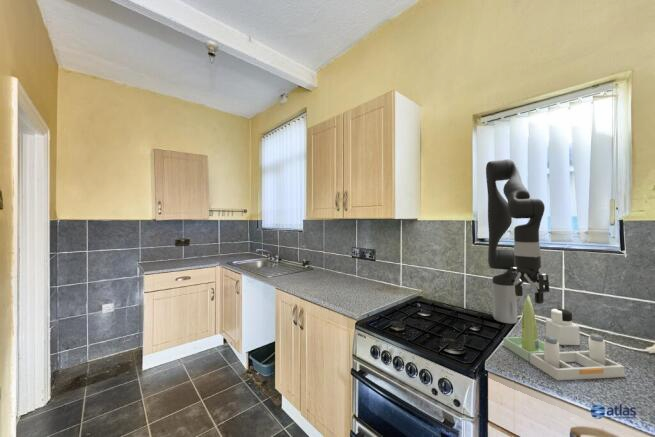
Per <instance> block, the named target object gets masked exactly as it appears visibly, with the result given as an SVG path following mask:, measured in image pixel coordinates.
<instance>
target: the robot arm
mask: <svg viewBox="0 0 655 437" xmlns="http://www.w3.org/2000/svg"><path fill="white" fill-rule="evenodd" d="M485 166H486V167H485V177H486V186H487V223H488V224H487V225H488V251H487V252H488V253H487V257H488V258H487V259H488V266H489V268H490V269H493V270H494V269H495V270H506V271H505V272H504V273H500V274H498V275H494V276H493V277H492V297H491V303H492V304H491V307H492V309H491V311H492V318H493V319H494V320H496V321H497V322H501V323H505V324H510V325H511V324H517V323H518V298H517V297H522V296H523V295H524V294H523V292H524V291H523V284H524V283H527V284H529V286H530V287H532V288H533V290H534V303H535V304H538V305H539V304H541V305H542V304H543V303H544V301H545V299H544V293H550V282H549V275H548V273H540V269H541V268H542V259H541V258H542V256H541V245H540V226H541V222H542V219H543V216H544V213H545V203H544V202H543V200H541V199H540V198H531V195H530V192H529V191H528V189H527V188H526V187H525V185H524V184H523V181H522V178H521V175H520V172H519V169H518V167H517V163H516V162H515V161H514V160H513V159H509V158H508V159H499V160H492V161H488V162H487V163H486V165H485ZM498 181H499V182H501V181H506V183H505V184H504V185H503V195H504V196H505V198H506V199H505V198H504V197H503V195H502V194H501V192H500V191H499V189H498V186H497V182H498ZM512 219H517V220H518V219H529V220H528V222H527V223H524V224H519V225H516V226H515V227H514V229H513V232H514V233H513V234H514V238H513V239H514V240H513V242H514V244H513V249H497V248H498V245H499V242H500V240H501V238H502V237H503V236H504V235H505V233H506V232H507V231H508V230H509V228H510V227H511V224H512V222H513V220H512Z"/></svg>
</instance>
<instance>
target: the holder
mask: <svg viewBox="0 0 655 437" xmlns="http://www.w3.org/2000/svg"><path fill="white" fill-rule="evenodd" d="M559 357H560V368H558V369H557V368H556V367H554V366H552V365H551V364H549V363H547V362H546V361H545V360H544V353H532V354H530V364H531V365H533V366H535V367H536V368H538V369H539V370H541V371H542V372H544V373H546V374H547V375H548V376H550V377H551V378H553V379H554V380H556V381H567V380H568V381H570V380H572V381H574V380H589V379H590V380H591V379H607V378H608V379H609V378H611V379H612V378H625V377H626V370H625V366H624V365H622V364H620V363H617V362H616V361H613V360H611V359H609V358H607V357H606V366H604V365H602V364H600V363H598V362H596V361H594V360H592V359H590V358H589V350H573V351H572V350H571V351H560V352H559ZM568 363H577V364H579V365H581V367H579V366H577V367H574V366H572V365H570V364H568Z"/></svg>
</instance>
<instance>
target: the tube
mask: <svg viewBox="0 0 655 437" xmlns="http://www.w3.org/2000/svg"><path fill="white" fill-rule="evenodd" d="M521 337H522V348H523V349H525V350H526V351H528V352H533V351H539V341H538V340H539V334H538V326H537V321H536V314H535V310H534V308H533V303H532V300H531V296H529V294H527V297H526V298H525V300H524V305H523V311H522V318H521Z"/></svg>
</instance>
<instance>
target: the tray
mask: <svg viewBox="0 0 655 437" xmlns="http://www.w3.org/2000/svg"><path fill="white" fill-rule="evenodd" d="M538 341H539V351H533V352H528V351H526V350H525V349H523V348H522V336H512V337H511V336H510V337H508V336H507V337H503V346H504V347H505V348H506V349H508V350H510V351H511V352H513V353H515V354H516V355H518V356H520V357H521V358H522V359H524V360H525V361H527V362H528V363H529V362H530V354H532V353H544V341H542V340H540V339H538ZM559 352H561V350H559Z"/></svg>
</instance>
